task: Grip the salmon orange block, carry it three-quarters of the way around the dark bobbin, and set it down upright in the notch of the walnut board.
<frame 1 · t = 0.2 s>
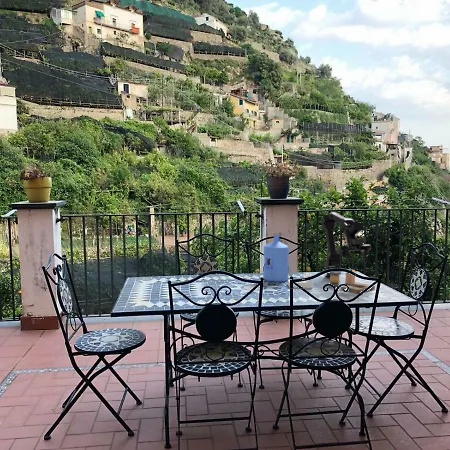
hand: (357, 262, 247), 15 cm above the table, tool tilted 30°, fingers open, 9 cm apart
salmon orange block: (350, 283, 261), on the table
bracket: (299, 287, 250), on the table
notched board: (354, 288, 246), on the table
bobbin: (334, 285, 255), on the table
water jug: (275, 279, 269), on the table
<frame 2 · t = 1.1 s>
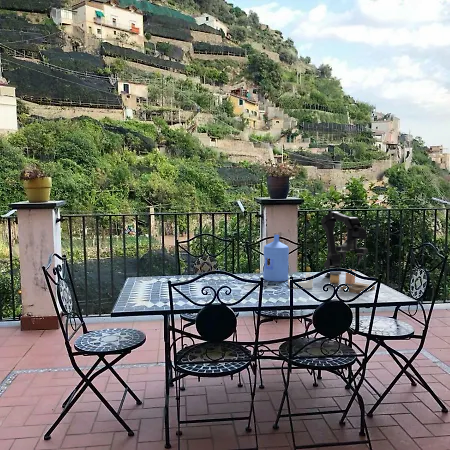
hand: (351, 263, 259), 12 cm above the table, tool pointing down, fingers open, 9 cm apart
nothing on the table moved.
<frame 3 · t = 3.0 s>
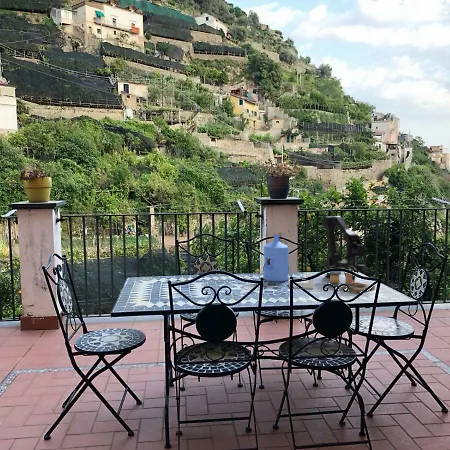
hand: (350, 280, 260), 2 cm above the table, tool pointing down, fingers closed on salmon orange block, 4 cm apart
salmon orange block: (350, 283, 261), on the table, touching gripper
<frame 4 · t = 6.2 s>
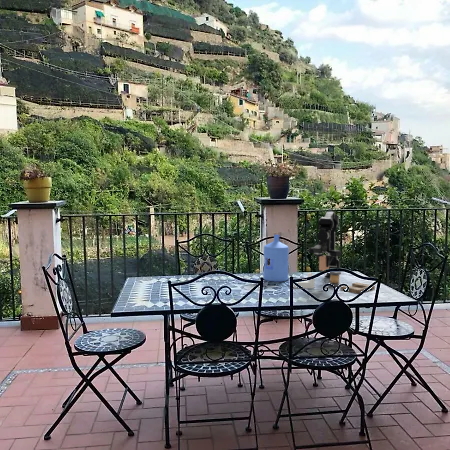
hand: (324, 266, 247), 12 cm above the table, tool pointing down, fingers closed on salmon orange block, 4 cm apart
salmon orange block: (324, 270, 247), point 10 cm above the table, touching gripper
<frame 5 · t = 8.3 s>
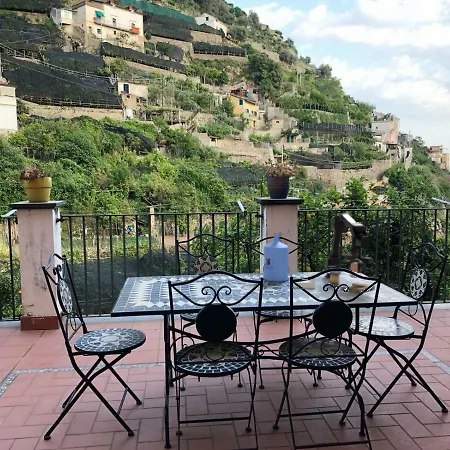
hand: (355, 273, 245), 9 cm above the table, tool pointing down, fingers closed on salmon orange block, 4 cm apart
salmon orange block: (355, 277, 245), point 7 cm above the table, touching gripper
when the fingers open (3 cm above the table, at t = 9.8 s): salmon orange block drops 1 cm, on the table.
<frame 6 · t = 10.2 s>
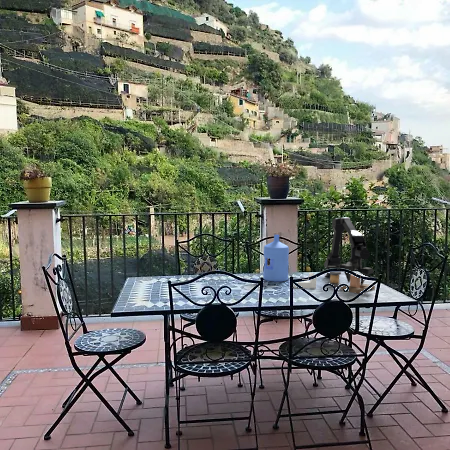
hand: (355, 283, 246), 3 cm above the table, tool pointing down, fingers open, 8 cm apart
salmon orange block: (354, 289, 246), on the table
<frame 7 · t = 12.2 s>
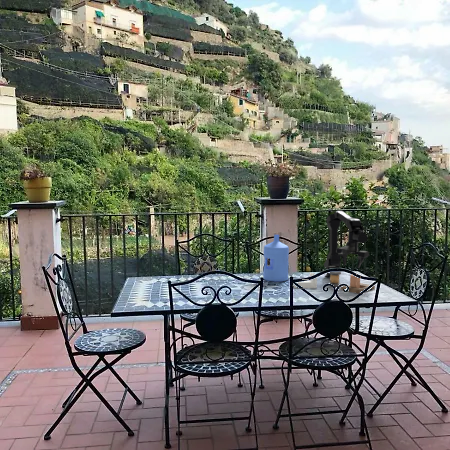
hand: (351, 266, 254), 11 cm above the table, tool pointing down, fingers open, 9 cm apart
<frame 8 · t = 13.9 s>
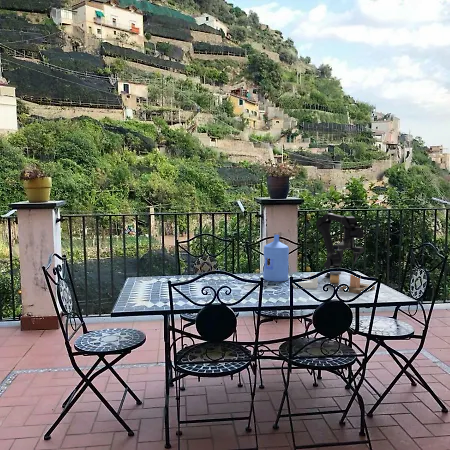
hand: (347, 262, 265), 12 cm above the table, tool pointing down, fingers open, 9 cm apart
at the end: salmon orange block 0.1 cm from the target spot, on the table; salmon orange block tilted 0°; the gripper is holding nothing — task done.
